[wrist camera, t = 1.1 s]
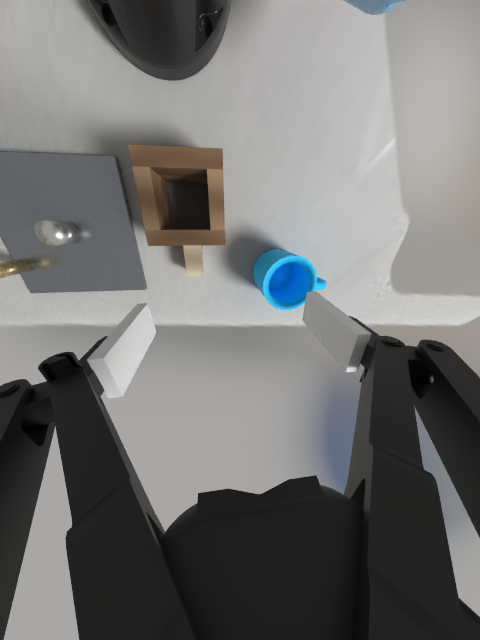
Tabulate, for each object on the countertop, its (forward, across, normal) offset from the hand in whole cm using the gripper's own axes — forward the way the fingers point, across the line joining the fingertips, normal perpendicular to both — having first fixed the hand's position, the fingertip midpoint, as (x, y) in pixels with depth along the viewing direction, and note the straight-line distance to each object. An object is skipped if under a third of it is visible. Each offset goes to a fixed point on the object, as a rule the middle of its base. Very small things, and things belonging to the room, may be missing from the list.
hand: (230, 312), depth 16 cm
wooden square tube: (+20, -4, +6) cm, 21 cm away
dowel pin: (+19, -31, +2) cm, 36 cm away
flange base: (+20, -22, +6) cm, 30 cm away
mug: (+20, +11, -3) cm, 23 cm away
